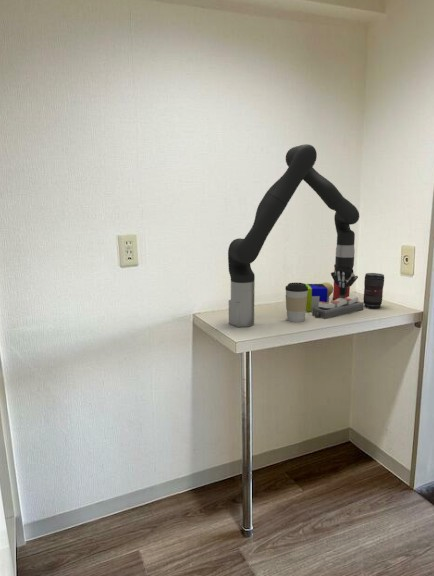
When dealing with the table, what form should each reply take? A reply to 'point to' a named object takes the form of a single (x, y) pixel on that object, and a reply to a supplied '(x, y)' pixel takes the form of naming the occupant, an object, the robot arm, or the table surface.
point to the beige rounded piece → (330, 290)
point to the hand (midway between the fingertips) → (343, 295)
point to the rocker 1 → (326, 305)
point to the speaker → (337, 290)
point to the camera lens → (373, 290)
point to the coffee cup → (296, 301)
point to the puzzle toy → (315, 295)
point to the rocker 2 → (339, 302)
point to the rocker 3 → (351, 299)
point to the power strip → (337, 310)
